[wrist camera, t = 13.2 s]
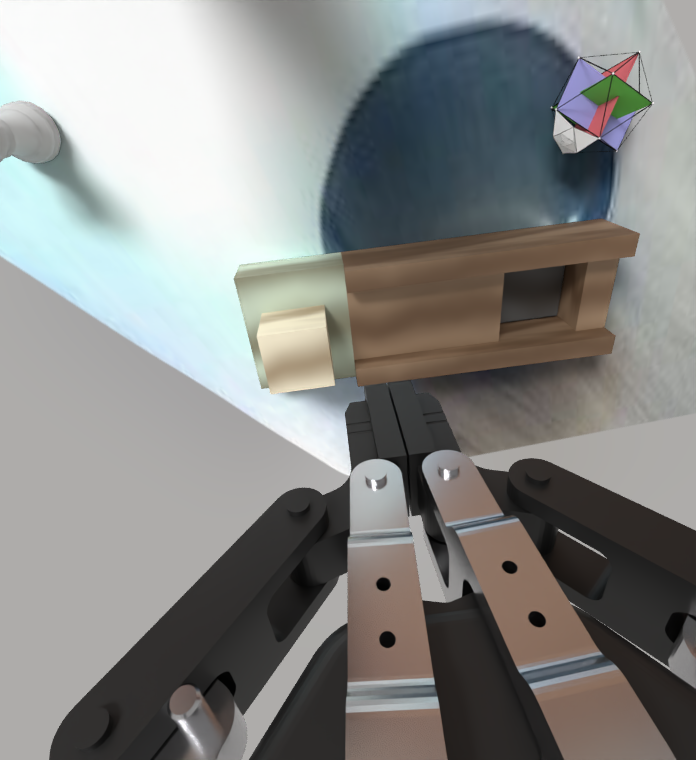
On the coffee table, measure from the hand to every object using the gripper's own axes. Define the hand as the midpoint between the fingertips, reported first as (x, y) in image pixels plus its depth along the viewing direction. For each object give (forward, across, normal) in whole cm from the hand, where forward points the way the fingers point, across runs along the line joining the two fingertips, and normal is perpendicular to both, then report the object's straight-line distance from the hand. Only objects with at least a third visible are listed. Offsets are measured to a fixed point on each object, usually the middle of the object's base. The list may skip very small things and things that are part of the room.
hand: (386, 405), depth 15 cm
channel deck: (+32, -8, +10) cm, 34 cm away
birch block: (+28, +5, +11) cm, 30 cm away
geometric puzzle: (+32, -22, -6) cm, 39 cm away
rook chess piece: (+32, +24, -9) cm, 41 cm away
